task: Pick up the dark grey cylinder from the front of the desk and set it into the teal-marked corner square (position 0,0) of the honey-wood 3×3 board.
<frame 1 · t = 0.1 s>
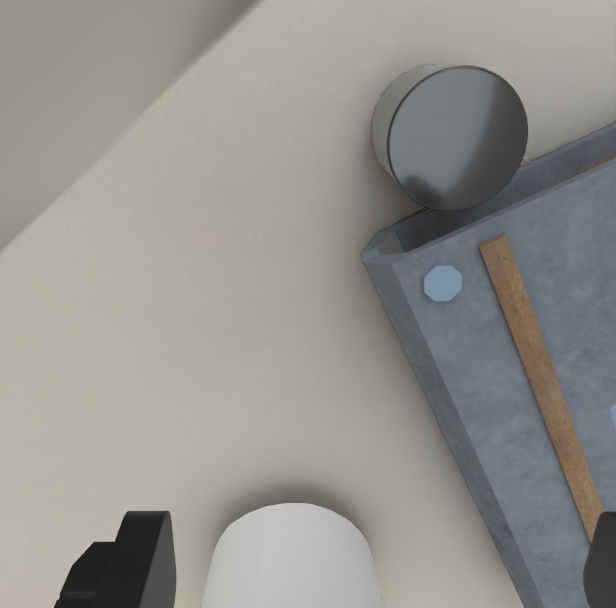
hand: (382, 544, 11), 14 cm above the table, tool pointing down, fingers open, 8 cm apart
dark grey cylinder: (429, 128, 21), on the table
cup: (291, 542, 30), on the table
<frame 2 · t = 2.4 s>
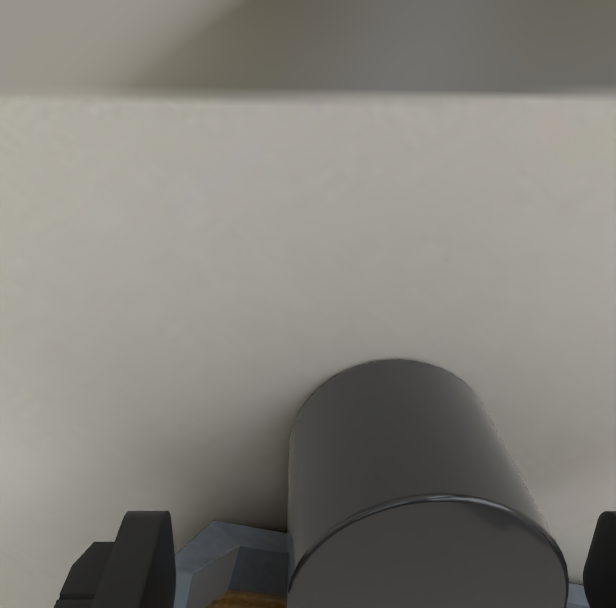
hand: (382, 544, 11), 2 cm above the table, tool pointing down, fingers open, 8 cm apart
dark grey cylinder: (389, 446, 13), on the table
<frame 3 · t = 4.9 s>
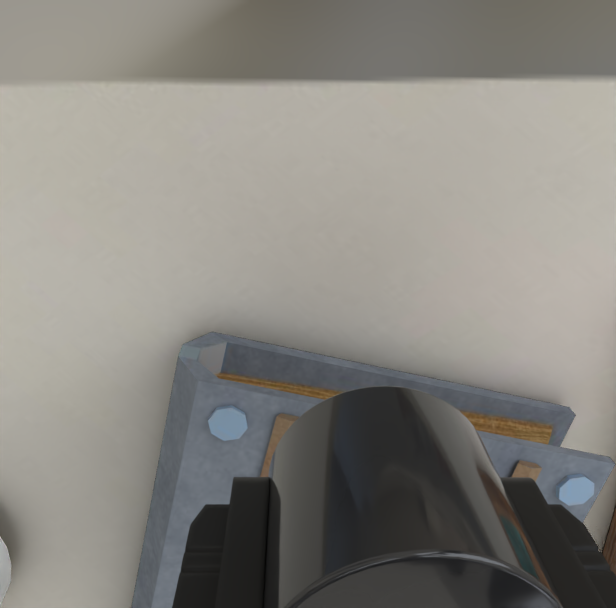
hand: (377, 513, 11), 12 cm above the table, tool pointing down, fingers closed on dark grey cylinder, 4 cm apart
dark grey cylinder: (377, 477, 12), point 11 cm above the table, touching gripper
book: (324, 549, 28), on the table
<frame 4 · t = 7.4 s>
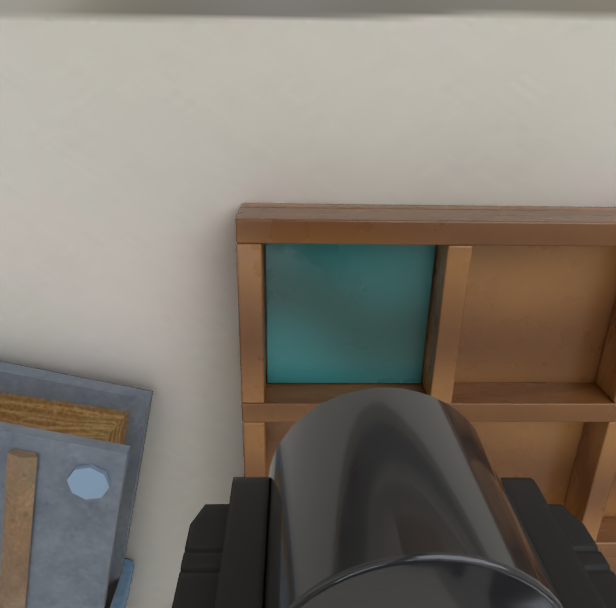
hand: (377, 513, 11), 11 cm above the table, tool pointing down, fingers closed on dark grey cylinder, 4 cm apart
dark grey cylinder: (377, 479, 12), point 10 cm above the table, touching gripper
board: (498, 451, 24), on the table
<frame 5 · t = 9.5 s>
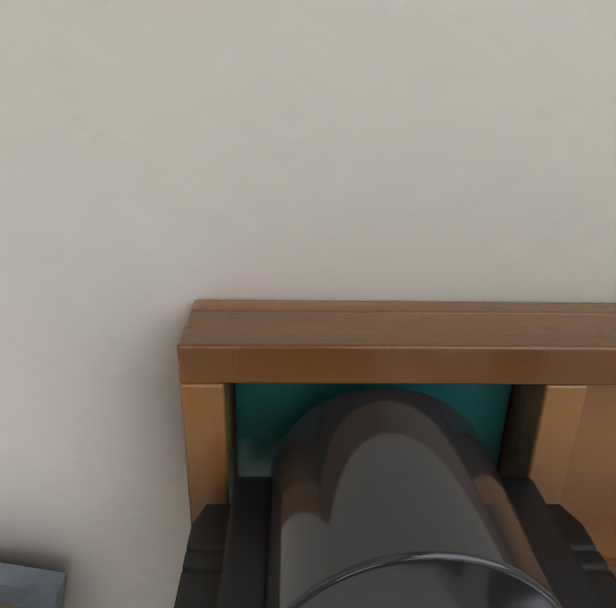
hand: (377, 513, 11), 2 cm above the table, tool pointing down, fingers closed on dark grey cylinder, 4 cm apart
dark grey cylinder: (377, 479, 12), point 2 cm above the table, touching gripper
when the fingers open (2 cm above the table, at t = 11.6 s): dark grey cylinder drops 1 cm, resting on board.
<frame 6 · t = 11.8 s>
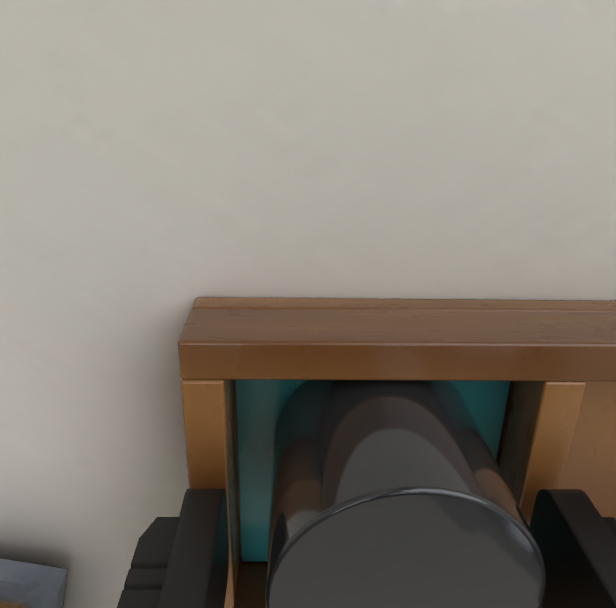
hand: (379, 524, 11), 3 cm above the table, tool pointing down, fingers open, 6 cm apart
dark grey cylinder: (373, 443, 13), point 1 cm above the table, touching board
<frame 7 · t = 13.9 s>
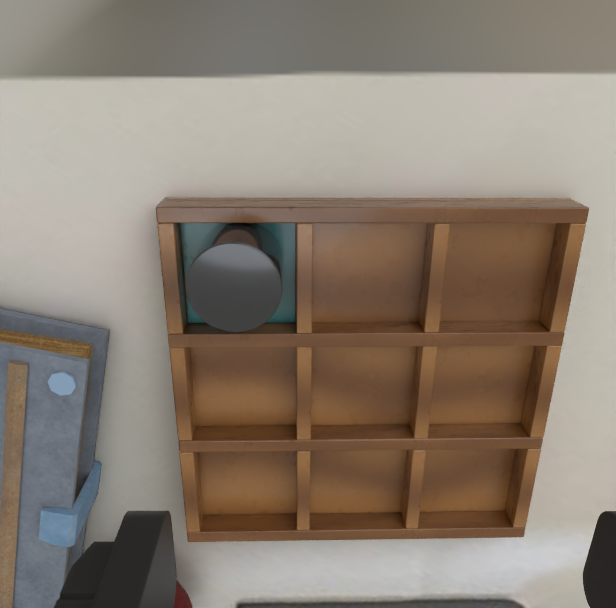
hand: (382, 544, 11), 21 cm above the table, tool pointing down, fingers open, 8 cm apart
dark grey cylinder: (241, 261, 30), point 1 cm above the table, touching board
apple: (147, 578, 39), on the table
board: (360, 375, 33), on the table
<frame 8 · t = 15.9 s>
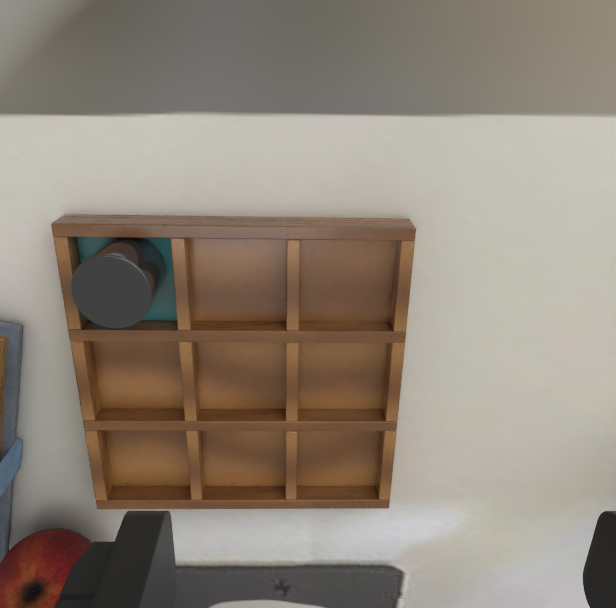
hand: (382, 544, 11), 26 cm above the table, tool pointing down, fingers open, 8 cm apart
dark grey cylinder: (130, 268, 35), point 1 cm above the table, touching board
apple: (69, 543, 45), on the table
board: (242, 367, 39), on the table
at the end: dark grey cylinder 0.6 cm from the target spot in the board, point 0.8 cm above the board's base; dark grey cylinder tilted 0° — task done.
